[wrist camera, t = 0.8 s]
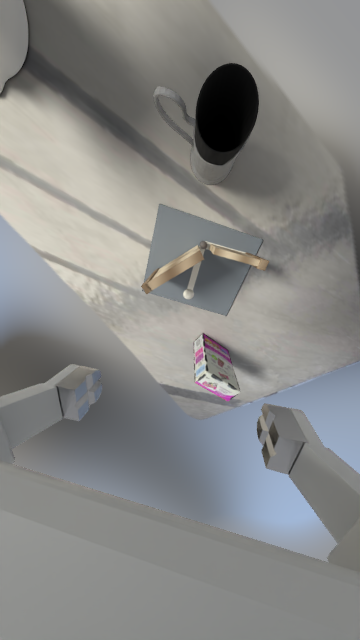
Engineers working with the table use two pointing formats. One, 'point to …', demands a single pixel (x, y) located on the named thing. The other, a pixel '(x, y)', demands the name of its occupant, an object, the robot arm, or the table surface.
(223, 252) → the bar
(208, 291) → the card
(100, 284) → the table surface
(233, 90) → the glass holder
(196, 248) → the brown wooden panel
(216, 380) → the candy bar box
